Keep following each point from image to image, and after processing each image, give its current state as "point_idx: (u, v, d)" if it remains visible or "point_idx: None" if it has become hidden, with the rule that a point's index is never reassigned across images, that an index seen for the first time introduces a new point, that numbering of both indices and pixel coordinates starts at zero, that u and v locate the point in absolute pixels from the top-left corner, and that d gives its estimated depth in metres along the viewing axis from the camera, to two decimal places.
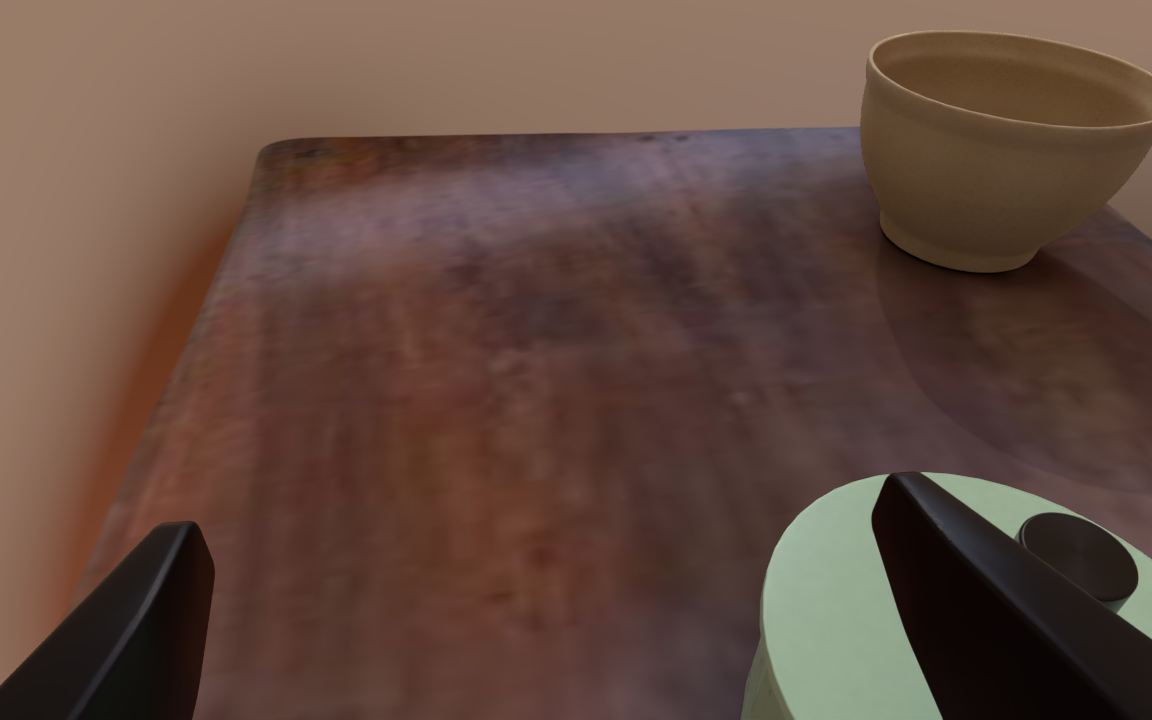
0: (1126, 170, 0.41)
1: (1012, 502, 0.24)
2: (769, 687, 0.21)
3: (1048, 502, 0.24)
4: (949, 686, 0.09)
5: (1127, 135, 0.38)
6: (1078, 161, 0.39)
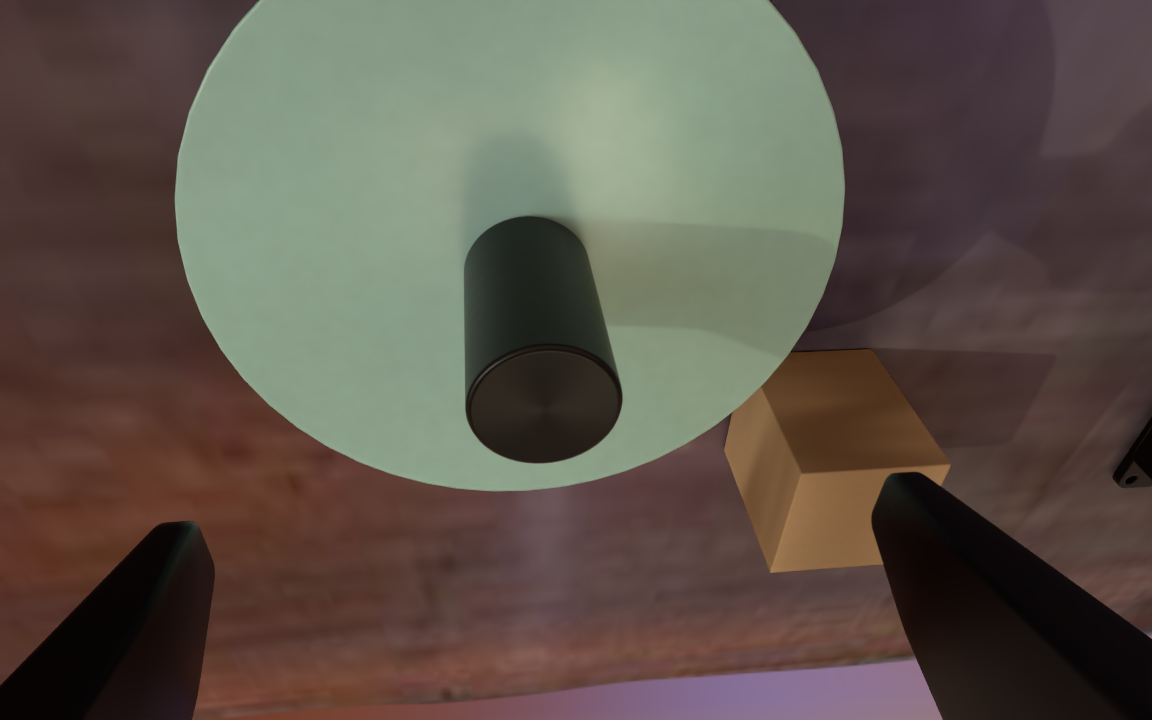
0: None
1: (238, 126, 0.12)
2: None
3: None
4: (949, 686, 0.09)
5: None
6: None
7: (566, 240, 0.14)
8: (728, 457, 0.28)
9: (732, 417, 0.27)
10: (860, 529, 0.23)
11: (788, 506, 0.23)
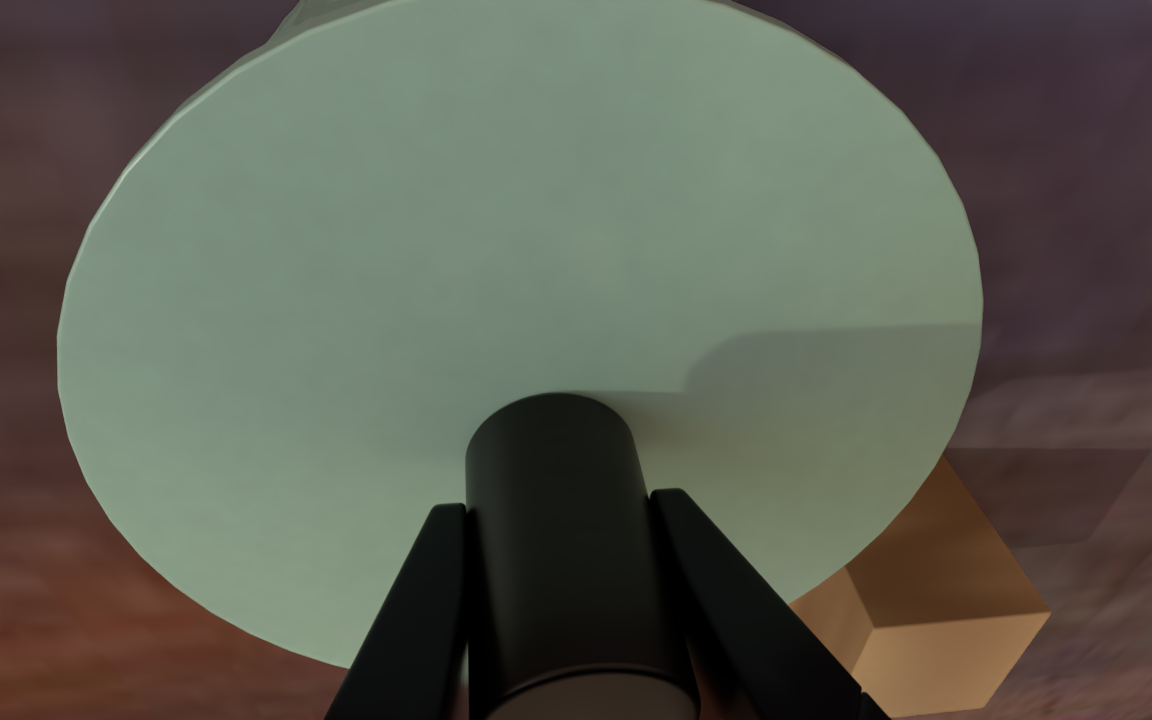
0: None
1: (141, 297, 0.09)
2: None
3: (110, 192, 0.08)
4: None
5: None
6: None
7: (607, 431, 0.10)
8: None
9: None
10: (937, 679, 0.20)
11: (853, 658, 0.19)
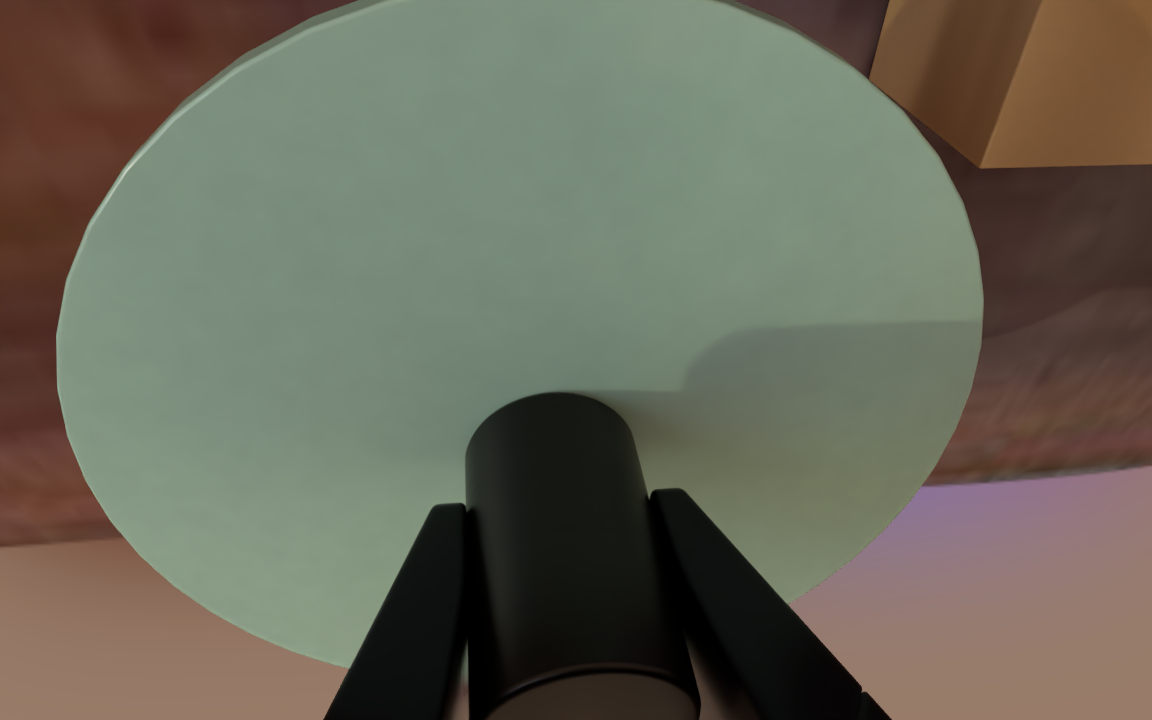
0: None
1: (141, 296, 0.09)
2: None
3: None
4: None
5: None
6: None
7: (607, 430, 0.10)
8: (878, 80, 0.20)
9: (889, 9, 0.19)
10: (1131, 76, 0.15)
11: (1031, 13, 0.14)
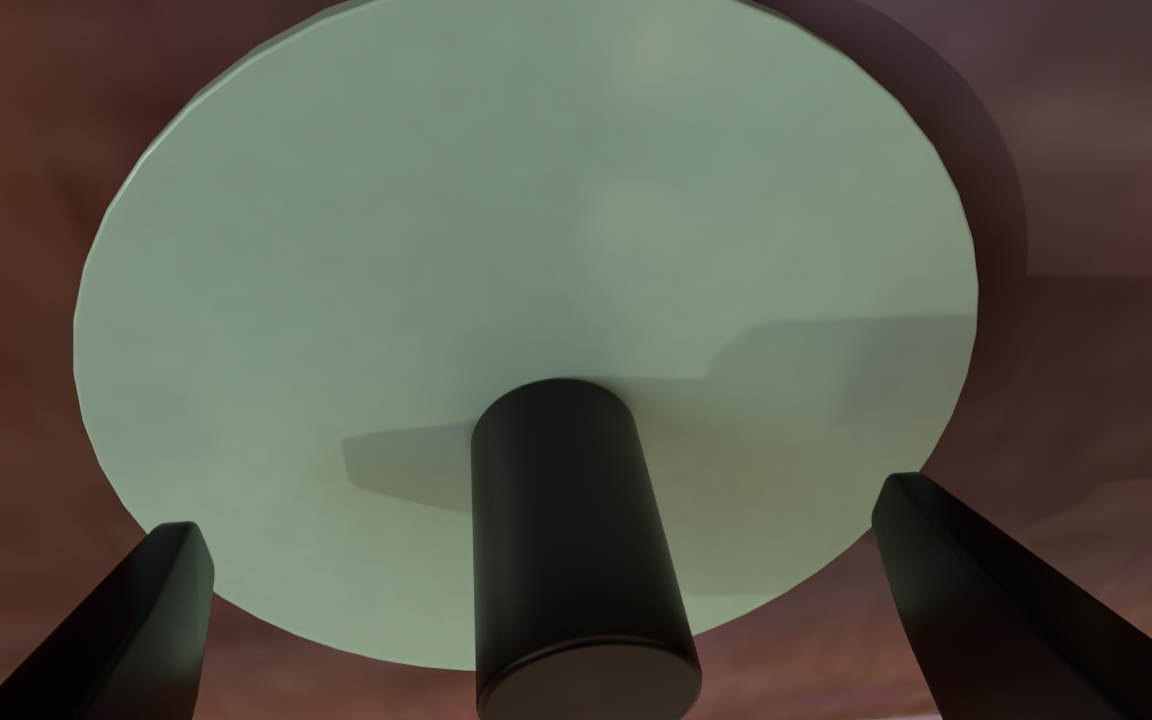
0: None
1: (156, 282, 0.09)
2: None
3: None
4: (949, 686, 0.09)
5: None
6: None
7: (610, 415, 0.10)
8: None
9: None
10: None
11: None
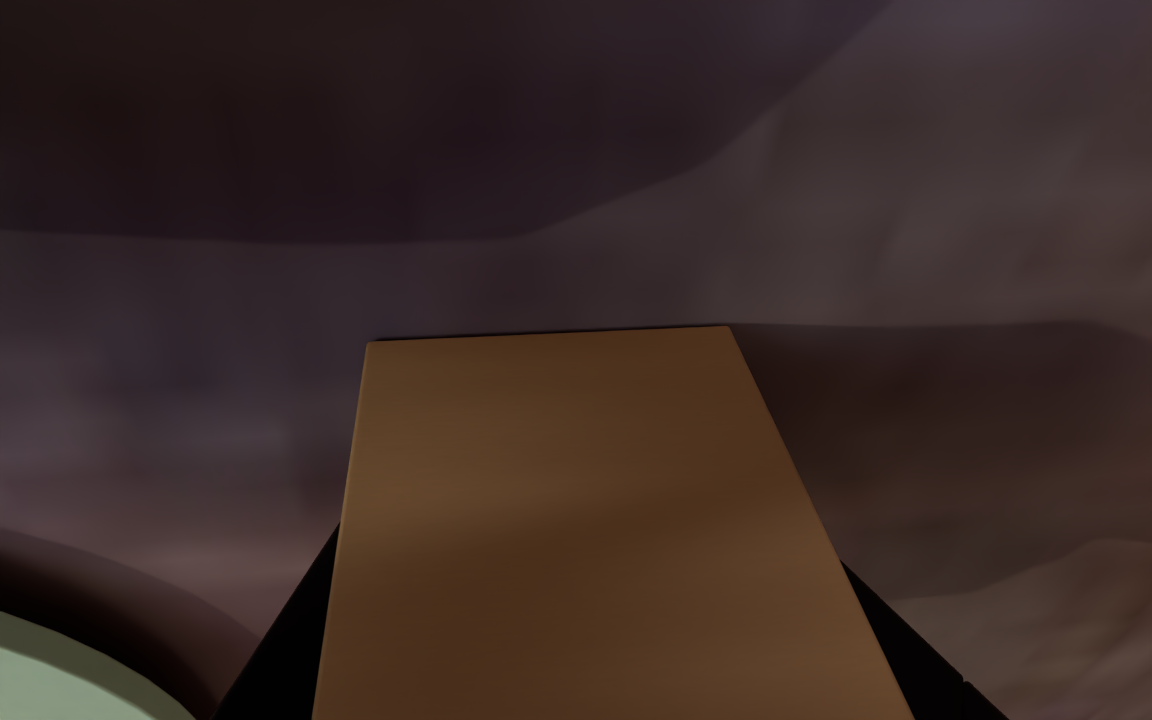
0: None
1: None
2: None
3: None
4: None
5: None
6: None
7: None
8: None
9: None
10: None
11: None
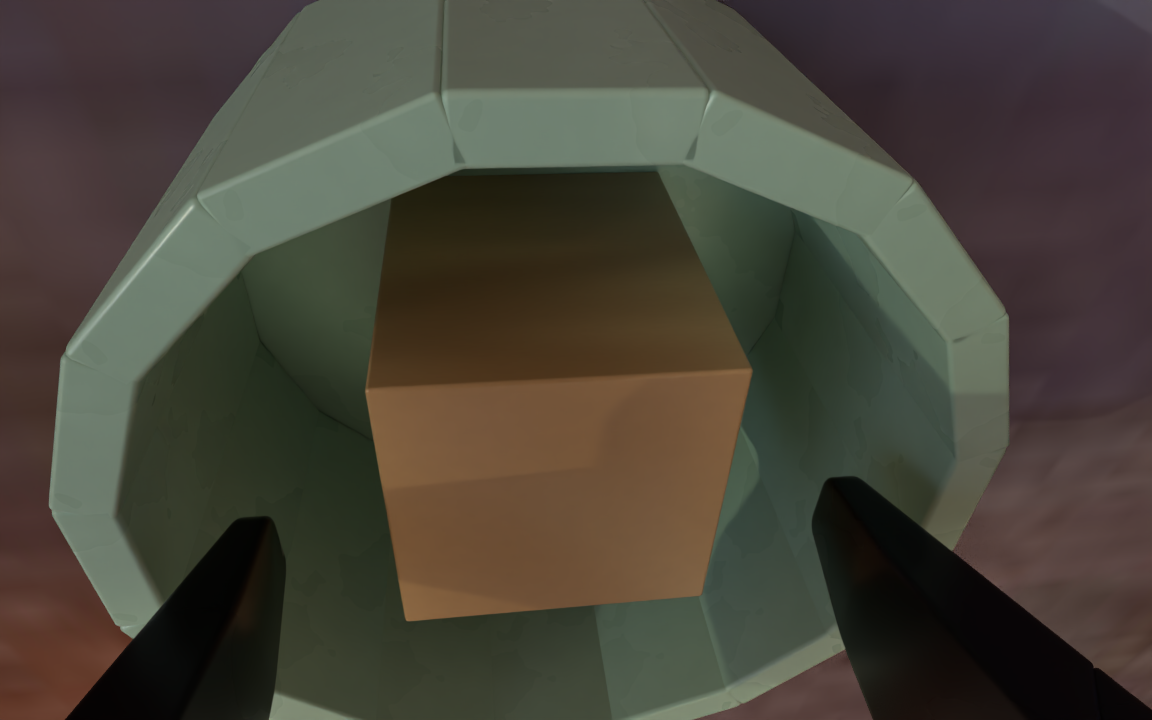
0: None
1: None
2: None
3: None
4: (880, 693, 0.09)
5: None
6: None
7: None
8: None
9: None
10: (576, 527, 0.10)
11: (381, 474, 0.10)
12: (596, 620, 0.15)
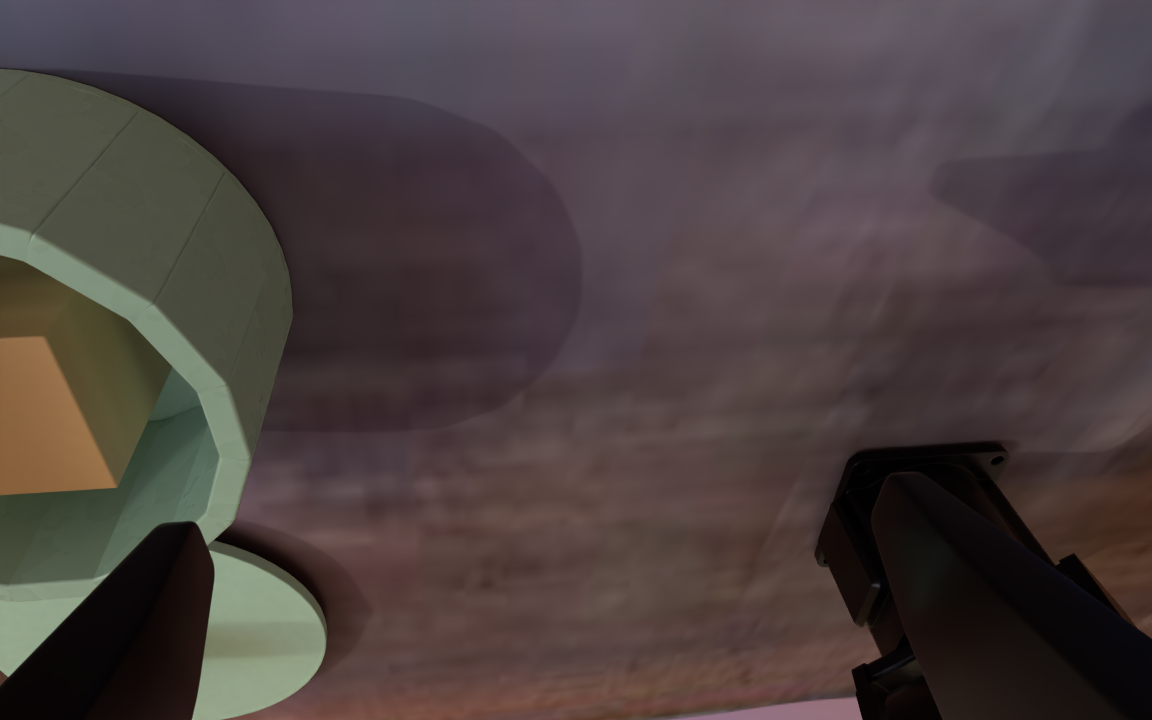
0: None
1: None
2: None
3: None
4: (949, 686, 0.09)
5: None
6: None
7: None
8: None
9: None
10: None
11: None
12: (119, 518, 0.21)
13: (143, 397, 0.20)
